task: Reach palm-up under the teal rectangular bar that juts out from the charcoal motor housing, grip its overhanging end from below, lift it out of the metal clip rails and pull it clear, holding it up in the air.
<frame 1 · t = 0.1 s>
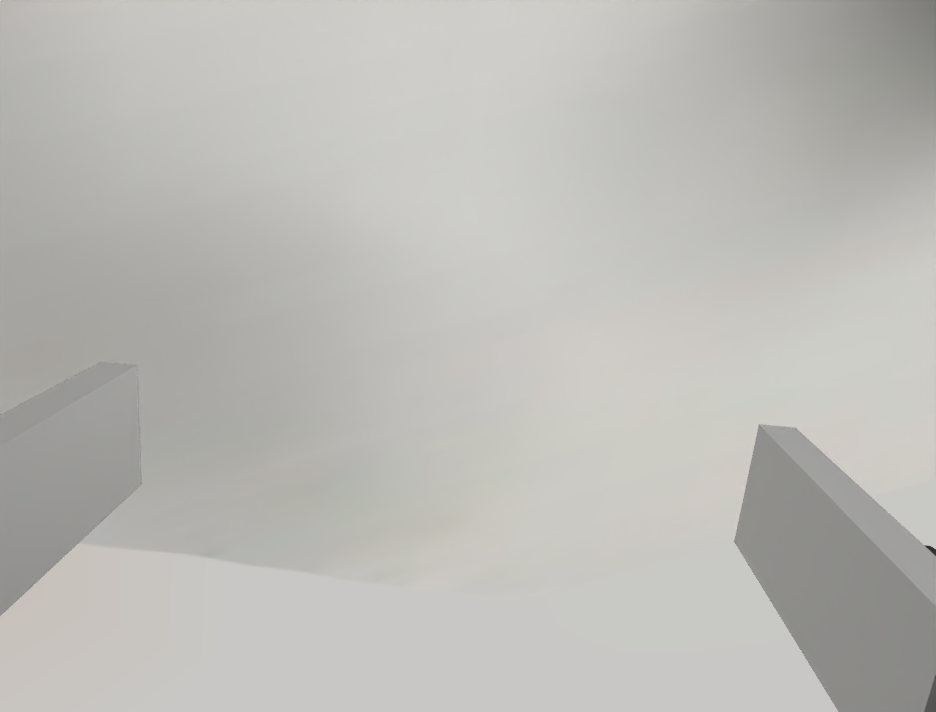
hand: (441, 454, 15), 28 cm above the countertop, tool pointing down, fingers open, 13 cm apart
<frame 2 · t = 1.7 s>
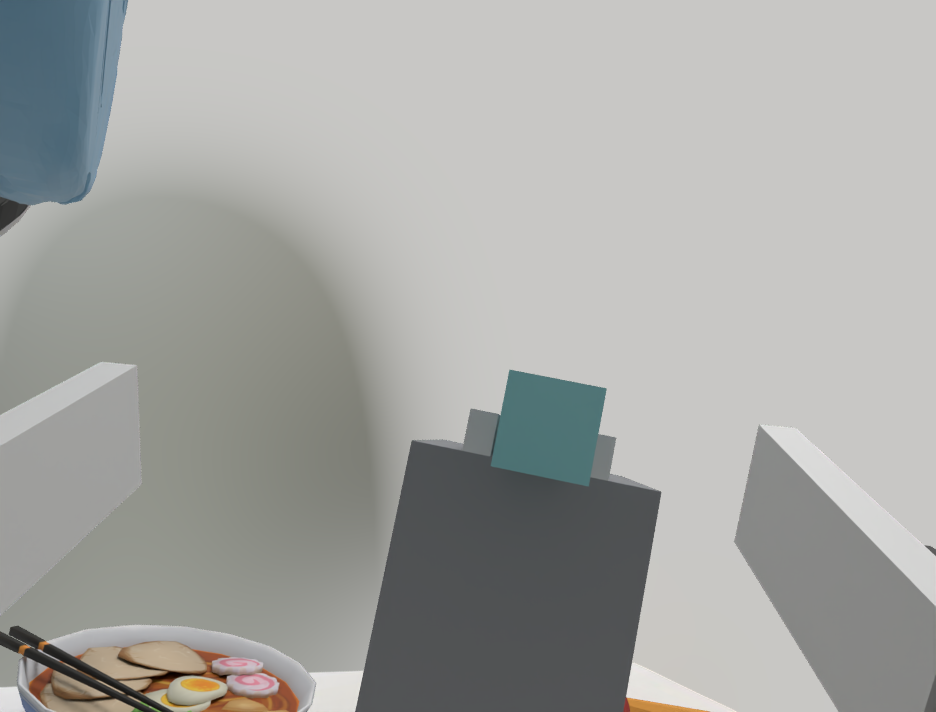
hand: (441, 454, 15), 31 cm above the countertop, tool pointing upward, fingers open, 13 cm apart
teal rectangular bar: (533, 464, 42), point 30 cm above the countertop, touching motor housing
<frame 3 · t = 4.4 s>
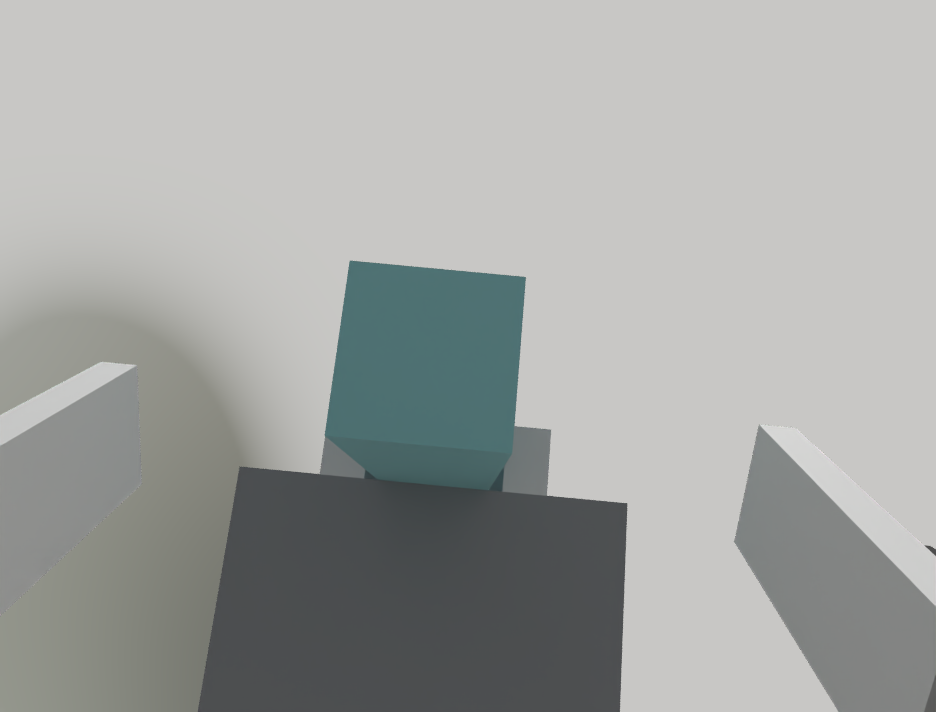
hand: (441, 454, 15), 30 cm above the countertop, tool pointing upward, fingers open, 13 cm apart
teal rectangular bar: (434, 489, 28), point 30 cm above the countertop, touching motor housing
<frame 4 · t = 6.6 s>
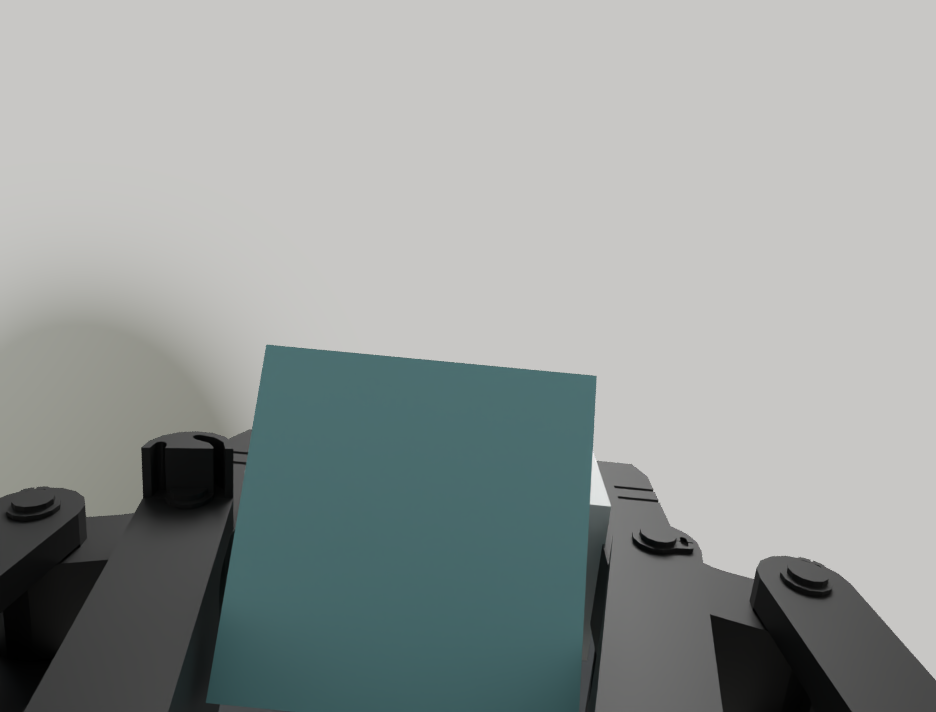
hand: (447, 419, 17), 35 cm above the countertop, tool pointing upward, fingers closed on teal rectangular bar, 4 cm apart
teal rectangular bar: (433, 608, 20), point 30 cm above the countertop, touching gripper, motor housing
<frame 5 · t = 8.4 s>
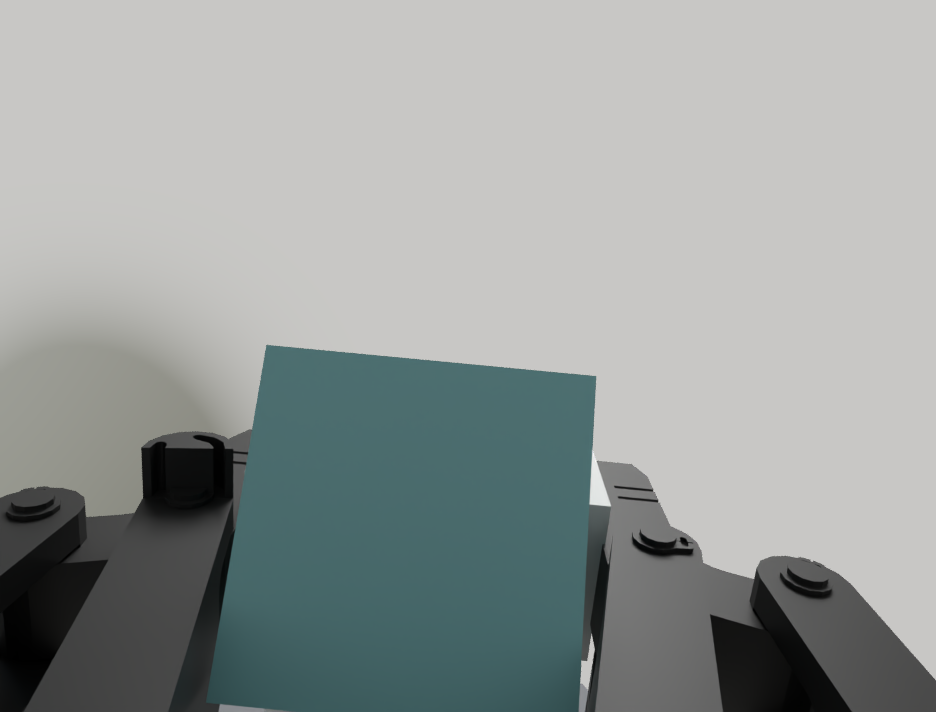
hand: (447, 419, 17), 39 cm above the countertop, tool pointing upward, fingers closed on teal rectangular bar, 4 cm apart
teal rectangular bar: (433, 608, 20), point 34 cm above the countertop, touching gripper
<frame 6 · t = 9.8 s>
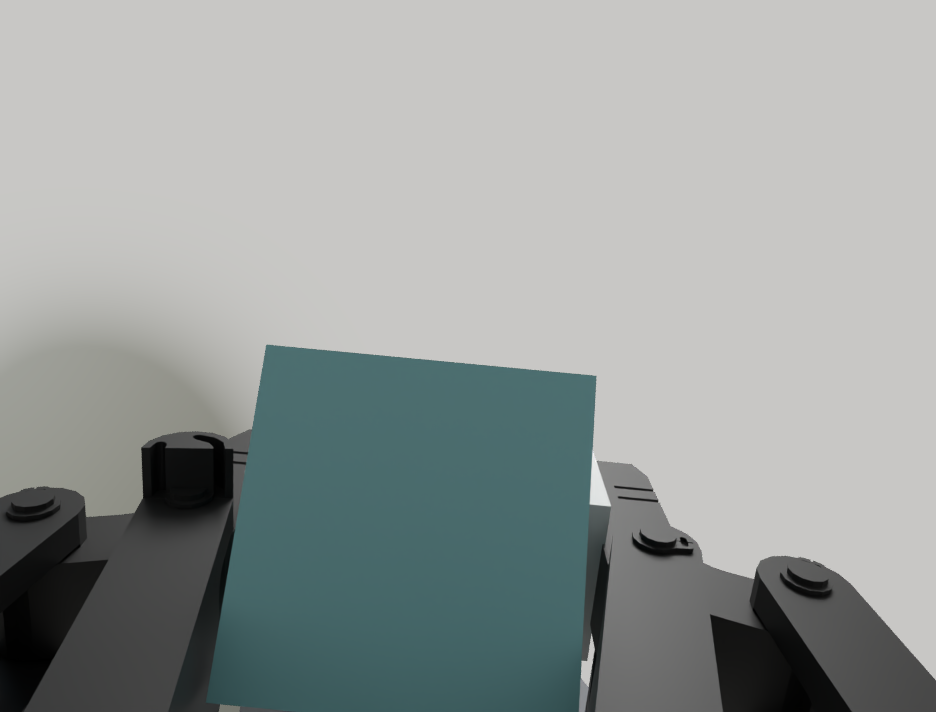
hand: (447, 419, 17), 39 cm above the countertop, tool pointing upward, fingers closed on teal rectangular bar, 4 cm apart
teal rectangular bar: (433, 608, 20), point 34 cm above the countertop, touching gripper
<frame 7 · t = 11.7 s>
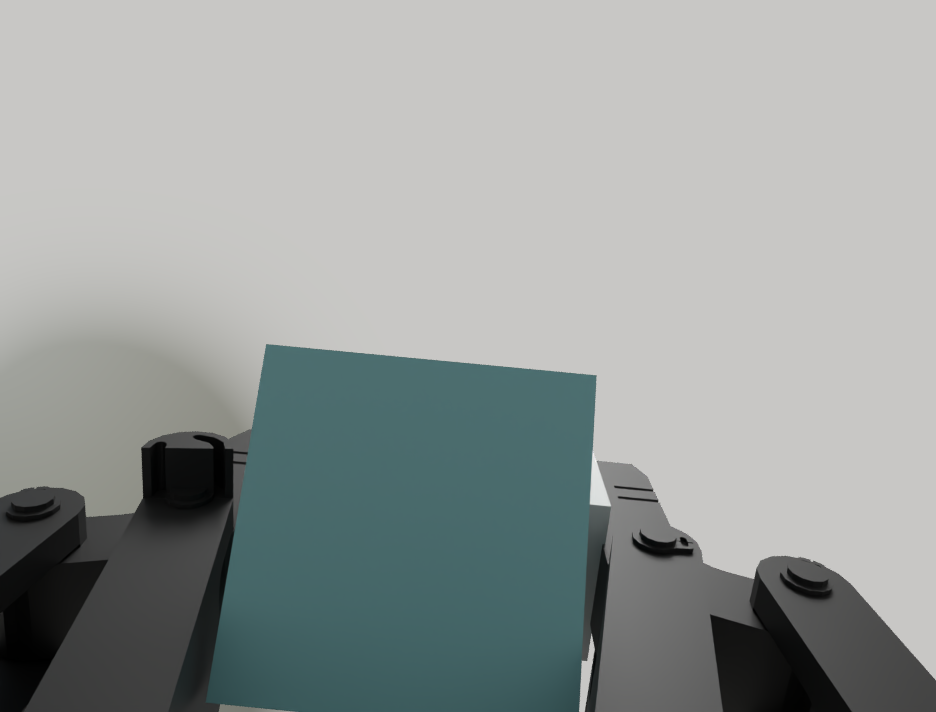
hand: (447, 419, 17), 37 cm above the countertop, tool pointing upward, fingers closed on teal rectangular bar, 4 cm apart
teal rectangular bar: (433, 608, 20), point 32 cm above the countertop, touching gripper
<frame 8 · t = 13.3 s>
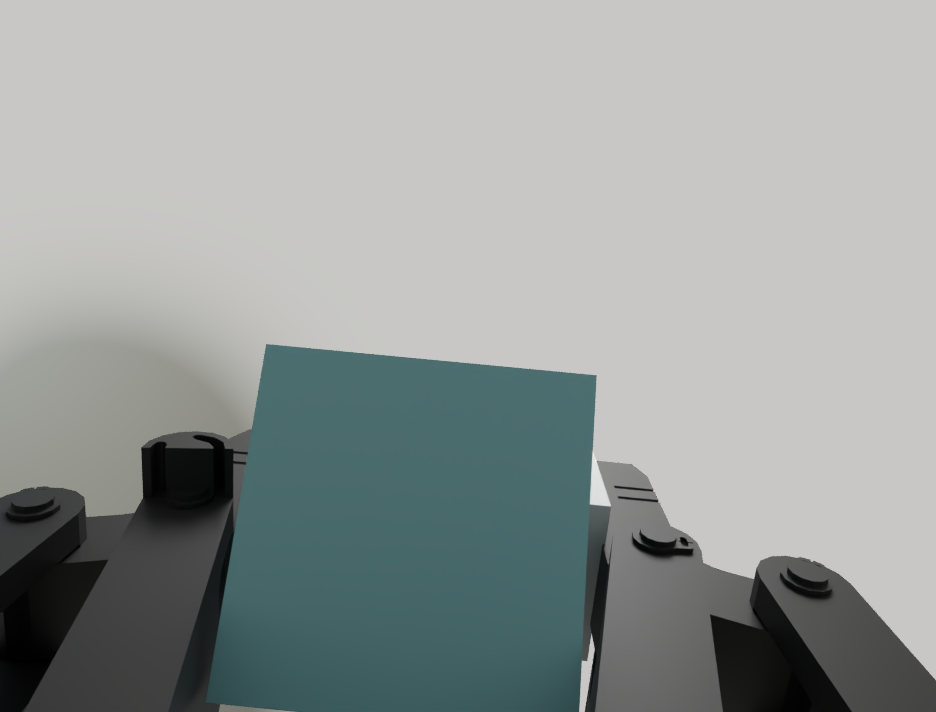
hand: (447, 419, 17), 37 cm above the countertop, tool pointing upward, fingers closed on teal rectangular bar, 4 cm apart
teal rectangular bar: (433, 608, 20), point 32 cm above the countertop, touching gripper
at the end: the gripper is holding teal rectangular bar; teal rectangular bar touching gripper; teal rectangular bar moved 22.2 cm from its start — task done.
